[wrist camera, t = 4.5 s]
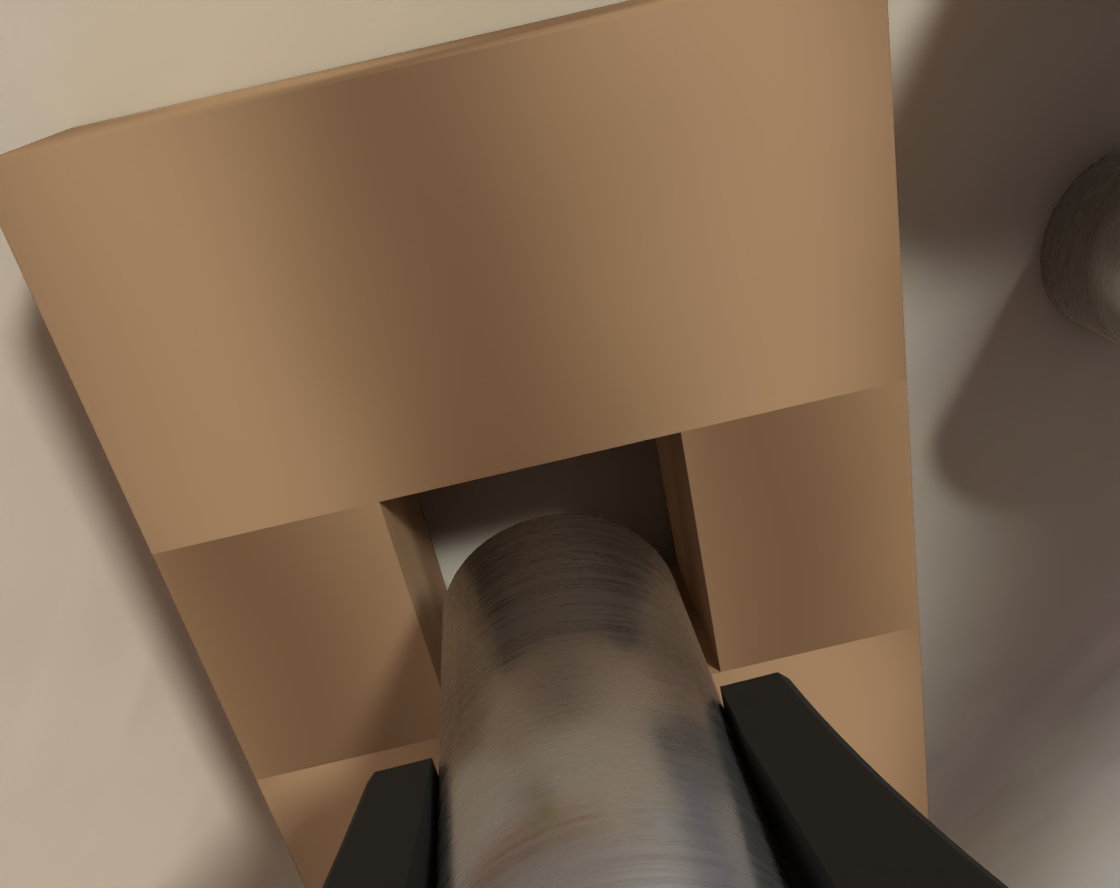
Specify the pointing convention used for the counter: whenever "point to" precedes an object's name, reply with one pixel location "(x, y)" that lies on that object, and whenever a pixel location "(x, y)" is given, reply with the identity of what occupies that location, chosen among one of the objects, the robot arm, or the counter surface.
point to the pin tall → (586, 724)
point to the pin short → (1087, 250)
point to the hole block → (500, 356)
